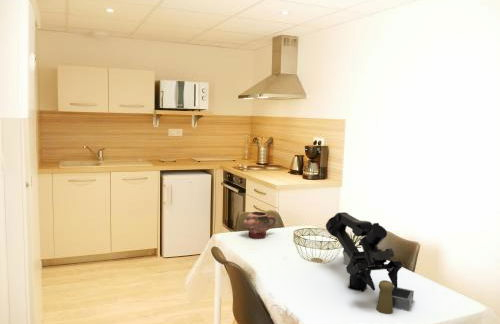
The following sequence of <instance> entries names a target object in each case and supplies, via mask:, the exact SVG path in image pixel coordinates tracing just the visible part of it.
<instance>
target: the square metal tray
mask: <svg viewBox="0 0 500 324" xmlns="http://www.w3.org/2000/svg"><path fill="white" fill-rule="evenodd" d="M414 294H415V290H412V289H406V288H402V287H398V286H397V288H396V289H395V287H394V286H393V291H392V304H393V309H398V308H399V309H398V310H402V309H403V310H402V311H406V310H407V311H406V312H410V310H411V307H412V305H413V302H414ZM411 304H412V305H411Z"/></svg>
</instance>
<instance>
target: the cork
mask: <svg viewBox="0 0 500 324" xmlns="http://www.w3.org/2000/svg"><path fill="white" fill-rule="evenodd" d="M378 289H379V294H378V297H377V302H376V308H375V310H376V311H377V312H378V313H380V314H384V315H391V314H393V313H394V307H393V304H392V291H393V284H392V282H391V280H390V281H389V280H381V281H379V283H378Z"/></svg>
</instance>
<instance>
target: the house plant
mask: <svg viewBox="0 0 500 324" xmlns="http://www.w3.org/2000/svg"><path fill="white" fill-rule="evenodd" d="M346 233H347V234H348V236H349V237H350V238H351V240H352V241H353V243H354V244H355V246H356V247H357V249H361V248H362V246H359V244H358V243H359V242H360V239H362V238H363V237H365V236H356V235H355V234H354V233H353V236H352V231H350V233H348V231H346ZM341 248H342V255H343V264H344V265H346V266H348V264H349V262H350V258H349V256H348V255H347V253H346V252H345V250H344V248H343V247H342V246H341Z"/></svg>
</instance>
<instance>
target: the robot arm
mask: <svg viewBox="0 0 500 324" xmlns="http://www.w3.org/2000/svg"><path fill="white" fill-rule="evenodd" d="M347 227H348V228H350V229H351V233H353V235H354V234H355V235H356V236H355V237H358V236H359V237H362V236H364V237H362V239H360V240H359V241H358V245H359V246H357V245H356V244H354V243H353V241H352V240H351V236H350V237H349V236H348V234H349V233H348V232H347ZM325 229H326V231H327V232H328V233H329V234H330V236H332V237H334V238H336V239H337V241H338V243H340V246H341V248H342V247H343V248H342V249H343V250H345V252H346V253H347V255H348V256H349V258H350V262H349V264H348V265H346V266H345V270H346V273H347V274H349V283H348V284H349V285H348V286H347V289H350V290H353V291H358V292H364V291H365V290H367V288H368V287H369V288H370V289H371V290H372V291H376V287H375V283H374V281H373V279H372V276H371V273H372V271H381V270H382V271H383V270H386V272H387V276H388V278H389V279H390V282H391V283H392V284H393V286H394V287H395V289H396V288H397V287H398V274H399V273H398V272H399V271H400V270H401V269H402V268H403V267H404V264H403V262H402V261H401V260H400V259H394V260H392V258H394V257H395V253H394V250H393V248H392V247H390V248H387V249H385V250H383V249H381V248H380V249H379V247H378V245H380V244H381V243H382V242H383V241H384V239H386V237H387V235H388V231H387V230H386V228H385V227H383V226H382V225H380V223H379V222H374V223H372V222H371V221H368V220H359V219H358V218H356V217H354V216H353V215H351V214H349V213H348V212H337V213H335V215H334V216H333V217H330V218H329V219H328V221H327V222H326V223H325ZM346 232H347V233H348V234H347V233H346ZM356 246H357V247H361V248H362V250H363V251H359V248H357V247H356ZM388 260H390V261H389V262H388ZM387 262H388V263H387Z"/></svg>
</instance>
